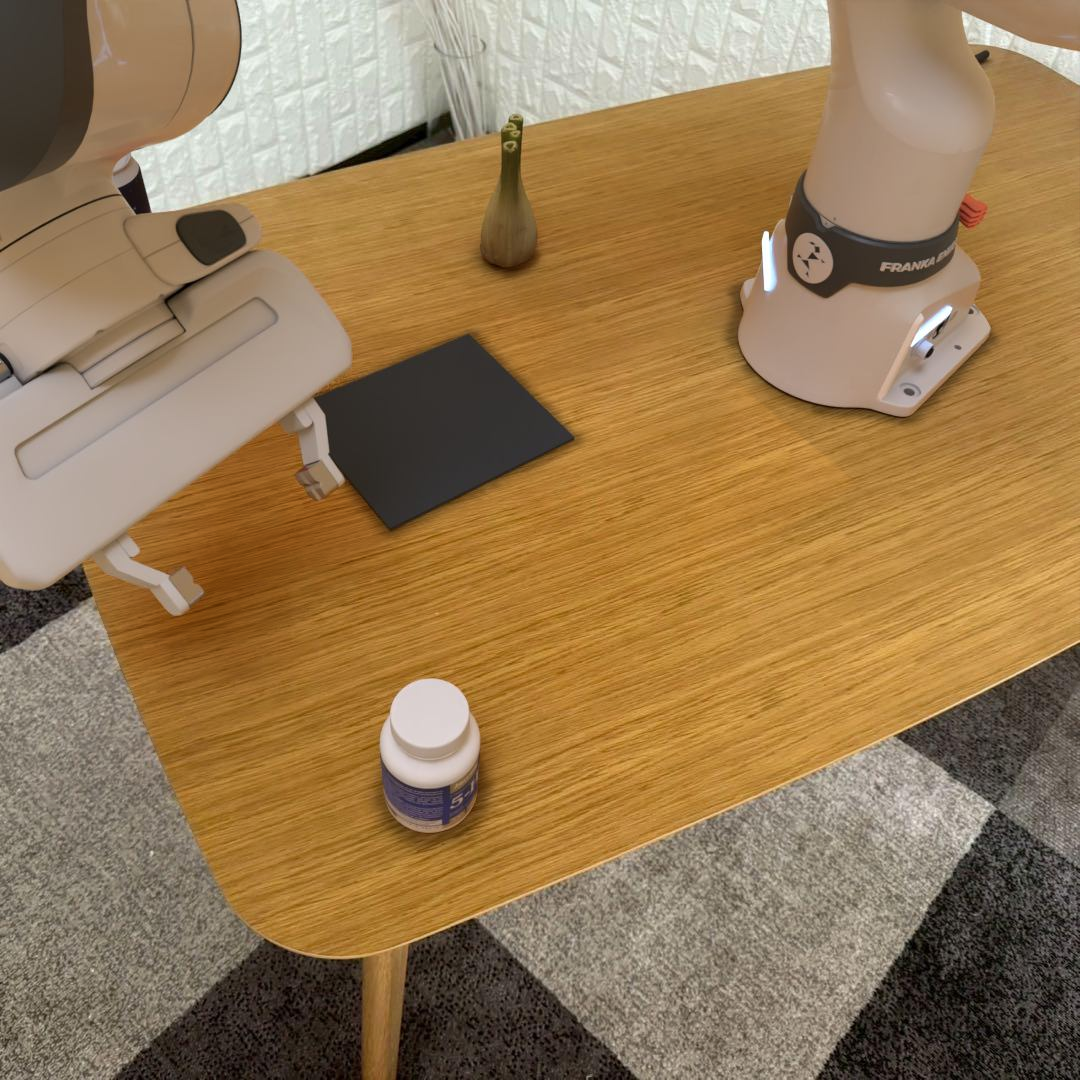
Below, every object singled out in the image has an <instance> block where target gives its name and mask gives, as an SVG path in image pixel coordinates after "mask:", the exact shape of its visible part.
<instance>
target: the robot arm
mask: <svg viewBox="0 0 1080 1080" xmlns="http://www.w3.org/2000/svg"><path fill="white" fill-rule="evenodd" d="M825 1H826V6H827V14H828V23H829V35H830V36H829V37H830V63H829V65H830V67H829V68H830V69H829V75H828V83H827V90H826V94H825V98H824V104H823V107H822V113H821V116H820V121H819V125H818V128H817V133H816V136H815V140H814V144H813V148H812V152H811V156H810V158H809V162H808V166H807V168H806V169H804V171H802V173H801V174H800V176H799V178H798V179H797V183H796V185H795V187H794V188H793V191H792V194H791V196H790V198H789V202H788V210H787V213H786V216H785V218H781V219H780V220H778V222H777V223H776V225H775V226H774V229H773V232H772V234H771V236H769V231H764V232H763V235H762V240H761V246H762V247H761V248H762V259H761V262H760V265H759V267H758V269H757V272H756V275H755V277H751V278H748V279H746V280H745V281H744V282H743V283H742V286H741V289H740V291H739V298H740V303H741V306H742V309H743V313H742V317H741V319H740V322H739V325H738V329H737V341H738V345H739V348H740V351H741V354H742V355H743V357H744V359H745V360H746V362H747V363H748V364H749V366H750V367H751V368H752V369H753V371H755V372H756V373H757V374H758V375H759V376H760V377H761V378H763V379H764V380H765V381H767V382H768V383H769V384H771V385H772V386H774V387H775V388H777V389H778V390H780V391H782V392H784V393H786V394H789V395H790V396H793V397H796V398H798V399H800V400H803V401H807V402H809V403H814V404H817V405H821V406H828V407H835V408H861V409H870V410H873V411H877V412H880V413H883V414H887V415H890V416H895V417H901V418H902V417H904V418H905V417H906V418H907V417H910V416H912V415H913V414H914V413H915V412H916V411H917V410H919V408H921V406H922V405H923V404H924V403H925V402H926V401H928V400H929V398H930V397H932V395H933V394H934V393H935V392H937V391H938V389H940V388H941V386H943V384H944V383H946V381H948V379H949V378H950V377H952V376H953V375H954V373H955V372H956V371H957V370H958V369H960V367H961V366H963V364H965V362H966V361H967V360H968V359H969V358H971V356H972V355H974V353H976V351H978V350H979V348H980V347H981V346H982V345H983V344H984V343H985V342H986V341H987V339H988V338H989V336H990V333H991V331H992V328H991V325H990V323H989V321H988V319H987V318H986V316H985V315H984V314H983V312H982V311H981V310H980V309H979V308H978V306H977V305H976V304H975V303H974V301H975V299H976V297H977V295H978V292H979V289H980V287H981V283H982V275H981V273H980V270H979V268H978V265H977V264H976V262H975V261H974V259H972V257H970V256H969V254H968V253H967V252H966V251H965V250H964V249H963V248H962V247H961V246H960V245H959V244H958V233H959V227H960V223H961V224H962V225H963V226H964V228H967V230H972V229H974V228H976V227H977V226H978V225H980V222H982V221H983V219H984V218H985V216H986V215H987V211H988V204H987V203H985V202H983V201H981V200H978V199H975V198H974V197H973V196H972V195H971V193H967V192H968V190H969V188H970V185H971V184H972V181H973V179H974V177H975V175H976V172H977V170H978V169H979V168H978V167H979V165H980V163H981V161H982V159H983V157H984V154H985V152H986V150H987V148H988V145H989V143H990V141H991V139H992V136H993V134H994V130H995V124H996V112H997V111H996V110H997V109H996V108H997V107H996V97H995V92H994V89H993V86H992V83H991V81H990V79H989V77H988V74H986V72H985V70H984V69H983V67H982V65H981V64H980V63H981V62H983V61H985V60H987V59H988V58H989V57H990V55H991V54H990V51H989V50H988V49H984V50H983V51H980V52H979V53H977V54H974V52H973V50H972V48H971V46H970V44H969V41H968V37H967V35H966V31H965V26H964V19H963V13H964V14H967V15H969V16H971V17H974V18H976V19H978V20H981V21H983V22H985V23H987V24H990V25H992V26H994V27H997V28H998V29H1001V30H1003V31H1005V32H1007V33H1009V34H1012V35H1014V36H1017V37H1019V38H1021V39H1023V40H1025V41H1027V42H1030V43H1035V44H1040V45H1044V46H1049V47H1054V48H1059V49H1063V50H1069V51H1073V52H1080V0H825ZM242 30H243V29H242V21H241V14H240V8H239V4H238V0H0V581H1V582H2V583H3V584H4V585H6V586H8V587H10V588H12V589H13V588H14V589H17V590H23V591H24V590H25V591H31V592H32V591H40V590H43V589H47V588H49V587H51V586H52V585H54V584H55V583H57V582H58V581H60V580H62V579H63V578H64V577H65V576H66V575H69V573H71V572H72V571H73V570H75V569H76V568H78V567H79V566H80V565H82V564H83V563H84V562H86V561H87V560H89V559H92V560H93V561H94V563H95V564H96V565H97V566H98V568H99V569H100V570H101V571H102V573H104V574H105V575H108V576H111V577H113V578H115V579H119V580H122V581H124V582H126V583H130V584H132V585H135V586H138V587H140V588H143V589H148V590H149V591H150V592H151V593H152V594H153V595H154V597H155V598H156V599H157V601H158V602H159V603H160V604H161V605H162V607H163V608H164V609H165V611H167V612H168V613H169V614H171V615H172V616H173V617H174V616H175V617H176V616H182V615H183V614H185V613H186V612H187V611H189V610H190V609H191V608H193V606H195V605H196V604H197V603H198V602H199V601H200V600H202V599H203V598H204V597H205V596H206V593H205V589H203V588H202V586H201V585H200V584H198V583H195V582H194V576H193V575H192V573H191V572H190V571H189V570H188V568H187V567H186V566H183V565H182V566H179V567H173V568H171V569H170V570H168V571H167V572H166V573H165V572H163V571H161V570H158V569H156V568H153V567H150V566H149V565H146V564H143V563H141V562H139V561H136V560H134V559H132V558H135V557H136V556H137V555H139V554H140V551H141V549H140V547H139V546H138V544H136V542H135V541H134V539H133V538H132V537H131V536H130V534H129V533H128V531H129V530H130V529H131V528H133V527H135V525H137V524H138V523H140V522H141V521H143V520H144V519H145V518H146V517H148V516H149V515H150V514H152V513H153V512H154V511H156V510H157V509H159V508H161V506H163V505H165V504H166V503H167V502H169V501H170V500H171V499H173V498H174V497H175V496H177V495H178V494H179V493H181V492H183V491H184V490H185V489H186V488H188V487H189V486H190V485H192V484H193V483H195V482H196V481H198V480H199V479H200V478H202V477H203V476H204V475H206V474H207V473H208V472H210V471H211V470H213V469H214V468H215V467H217V466H218V465H220V464H221V463H222V462H224V461H225V460H227V459H228V458H229V457H230V456H232V455H233V454H235V453H236V452H237V451H239V450H240V449H241V448H243V447H244V446H245V445H247V444H249V443H250V442H251V441H253V440H254V439H255V438H256V437H258V436H260V435H261V434H262V433H264V432H265V431H266V430H267V429H269V428H270V427H272V426H274V424H276V423H277V422H278V424H279V426H281V428H282V429H283V430H284V432H285V433H286V434H287V435H293V434H295V433H297V438H298V443H299V449H300V454H301V459H302V464H303V466H302V467H301V468H300V469H299V470H298V471H296V472H295V473H293V477H294V478H295V479H296V481H297V482H298V483H299V485H300V486H302V487H304V488H305V489H304V490H305V493H306V494H307V496H308V497H309V498H310V499H311V500H312V501H315V502H318V501H321V500H325V499H327V498H328V497H329V496H331V495H332V494H333V493H334V492H336V491H337V490H338V489H339V488H341V487H342V486H343V485H344V484H345V483H346V479H345V476H344V474H343V473H342V472H341V470H340V469H339V468H338V467H337V466H336V464H335V463H334V462H333V461H332V459H331V458H330V456H329V455H328V453H329V444H328V436H327V427H326V418H325V414H324V413H323V411H322V410H321V408H320V407H319V405H318V404H317V403H316V401H315V400H314V398H315V397H313V396H314V395H316V394H317V393H319V392H320V391H322V390H323V389H324V388H326V387H327V386H329V384H331V383H332V382H334V381H335V380H337V379H338V378H339V377H341V376H342V375H343V374H345V373H347V372H348V371H349V370H350V369H351V368H352V367H353V361H354V360H353V358H354V357H353V343H352V340H351V337H350V335H349V334H348V332H347V330H346V328H345V327H344V325H343V324H342V322H341V320H339V318H338V317H337V315H336V313H335V312H334V311H333V310H332V308H331V307H330V306H329V304H328V303H327V301H326V299H324V297H323V296H322V295H321V294H320V292H319V291H318V290H317V288H316V287H315V286H314V284H313V283H312V282H311V281H310V279H309V278H308V277H307V276H306V274H305V273H304V272H302V270H301V269H300V268H299V267H298V266H297V265H296V264H295V262H293V261H292V260H291V259H289V258H288V257H287V256H285V255H284V254H281V253H280V252H277V251H275V250H272V249H266V248H257V249H254V248H255V247H257V246H258V245H259V244H260V243H261V242H262V239H263V237H264V232H263V228H262V226H261V223H260V222H259V220H258V218H257V217H256V215H255V214H254V213H253V211H252V210H251V209H250V208H249V207H248V206H247V205H245V204H242V203H240V202H227V203H219V204H213V205H205V206H199V207H193V208H192V207H191V208H185V209H184V208H183V209H178V210H177V209H176V210H168V211H157V212H152V213H145V214H138V215H136V214H135V212H134V211H133V210H132V208H131V207H130V206H129V204H128V203H127V201H126V200H125V199H124V197H123V196H122V194H121V193H120V191H119V190H118V188H117V186H116V184H115V182H114V179H113V169H114V167H115V165H116V163H117V162H118V161H119V160H121V159H122V158H123V157H124V156H126V155H127V154H129V153H131V154H132V153H133V152H136V151H139V150H142V149H144V148H146V147H151V146H155V145H159V144H162V143H165V142H168V141H169V142H170V141H172V140H175V139H178V138H179V137H182V136H183V135H186V134H187V133H189V132H191V131H192V130H194V129H195V128H196V127H198V126H199V125H200V124H202V123H203V122H204V121H205V120H206V118H208V117H210V116H211V115H212V114H213V113H214V112H216V110H218V109H219V107H220V106H221V105H222V104H223V102H224V101H225V100H226V99H227V96H228V95H229V94H230V92H231V90H232V88H233V86H234V83H235V81H236V78H237V75H238V72H239V68H240V64H241V56H242V50H243V49H242V48H243V31H242ZM769 237H770V238H769ZM253 249H254V250H253Z"/></svg>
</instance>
